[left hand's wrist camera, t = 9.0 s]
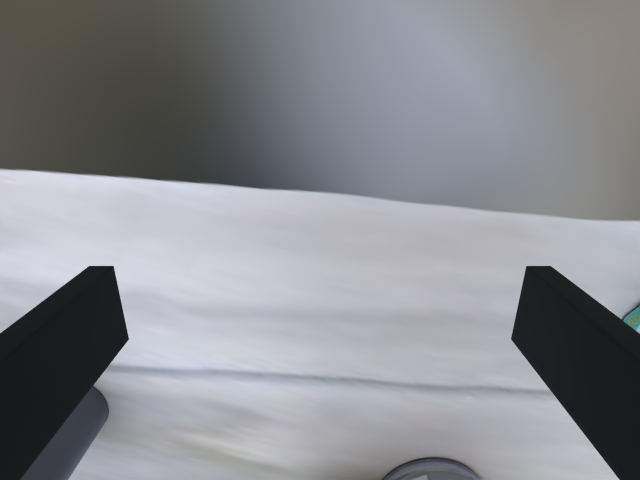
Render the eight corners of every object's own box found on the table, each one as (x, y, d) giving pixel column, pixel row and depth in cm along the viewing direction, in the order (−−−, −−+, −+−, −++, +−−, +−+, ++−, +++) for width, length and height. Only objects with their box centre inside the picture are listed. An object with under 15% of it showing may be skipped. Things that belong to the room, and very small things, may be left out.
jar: (115, 390, 49) (23, 523, 34) (101, 440, 52) (11, 583, 37) (39, 367, 48) (-90, 495, 32) (30, 420, 51) (-93, 560, 36)
